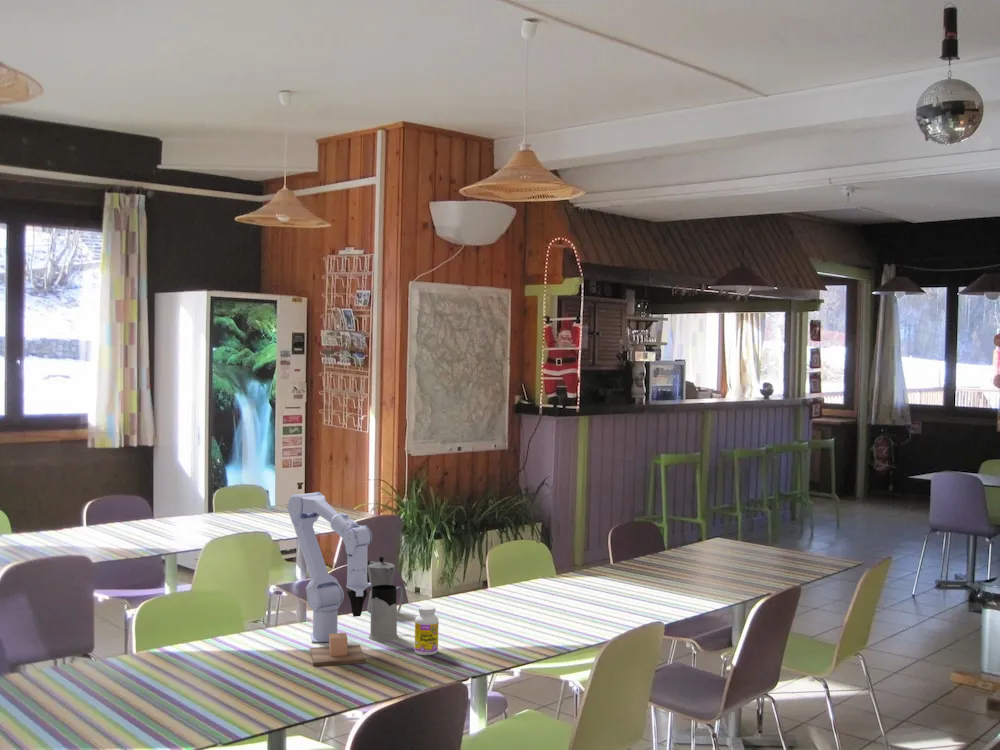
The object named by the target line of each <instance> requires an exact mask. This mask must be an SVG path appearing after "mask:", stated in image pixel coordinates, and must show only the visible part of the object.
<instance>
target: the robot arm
mask: <svg viewBox="0 0 1000 750" xmlns="http://www.w3.org/2000/svg"><path fill="white" fill-rule="evenodd" d="M286 508H287V511H288V515H289V517H290V520H291V523H292V525H293V528H294V532H295V535H296V537H297V540H298V544H299V546H300V549H301V553H302V557H303V559H304V562H305V565H306V568H307V572H308V573H309V577H310V581H309V583H307V585H306V586H305V591H306V601H307V604H308V606H309V608H310V610H311V611H312V632H310V638H311V642H312V643H327V642H328V643H329V634H333V633H338V616H339V615H338V612H339V610H338V609H340V606H341V604H343V601H344V598H345V596H344V595H345V592H344V590H343V587H342V586H341V585H340V583H339V581H338V578H336V577H334V576H333V575H331V574H329V571H328V568H327V565H326V563H325V560H324V557H323V553H322V550H321V548H320V544H319V541H318V539H317V536H316V532H315V529H314V524H315V523H316V522H317V521H318V519H319V518H320V517H321V518H323V520H325V521H327V522H328V523H330V528H331V530H332V531H334V532H335V533H336V534H337V535H338V536H340V537H341V538H342V539H343V544H344V546H345V552H346V554H347V555H346V556H347V561H346V564H347V567H346V571H347V572H346V588H347V590H346V593H347V596H348V598H349V602H350V607H351V608H350V609H351V614H352V616H353V617H356V618H357V617H361V616H362V611H363V608H364V607H363V606H364V602H365V601H366V598H367V596H368V591H367V588H369V587H370V588H371V583H368V581H367V561H368V549H369V548H368V547H369V545H371V543H372V540H373V533H372V530H371V529H370V528H369V526H368V525H366V524H365V525H360V524H358V522H356V521H355V520H353V519H352V518H350V517H349V515H348V513H346V512H344V513H343V512H342V513H339V512H337V511H336V509H334V507H332V505H330V504H329V503H328V502H327V497H326V495H323V493H321V492H320V491H315V492H309V493H308V492H307V493H302V494H301V493H300V494H297V493H295V494H292V495H290V497H289V500H288V502H287V507H286ZM348 589H349V590H348Z"/></svg>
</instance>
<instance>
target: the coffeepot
mask: <svg viewBox="0 0 1000 750" xmlns="http://www.w3.org/2000/svg"><path fill="white" fill-rule="evenodd" d="M384 558H385V557H384V556H379V558H378V560H379V562H376V561H372V560H367V583H371V586H370V591H369V595H368V601H367V606H366V610H367V612H368V613H370V614H371V597H372V587H373V586H376V585H393V586H394V579H395V572H396V565H395V564H394V563H390V562H386V561H384Z"/></svg>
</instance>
